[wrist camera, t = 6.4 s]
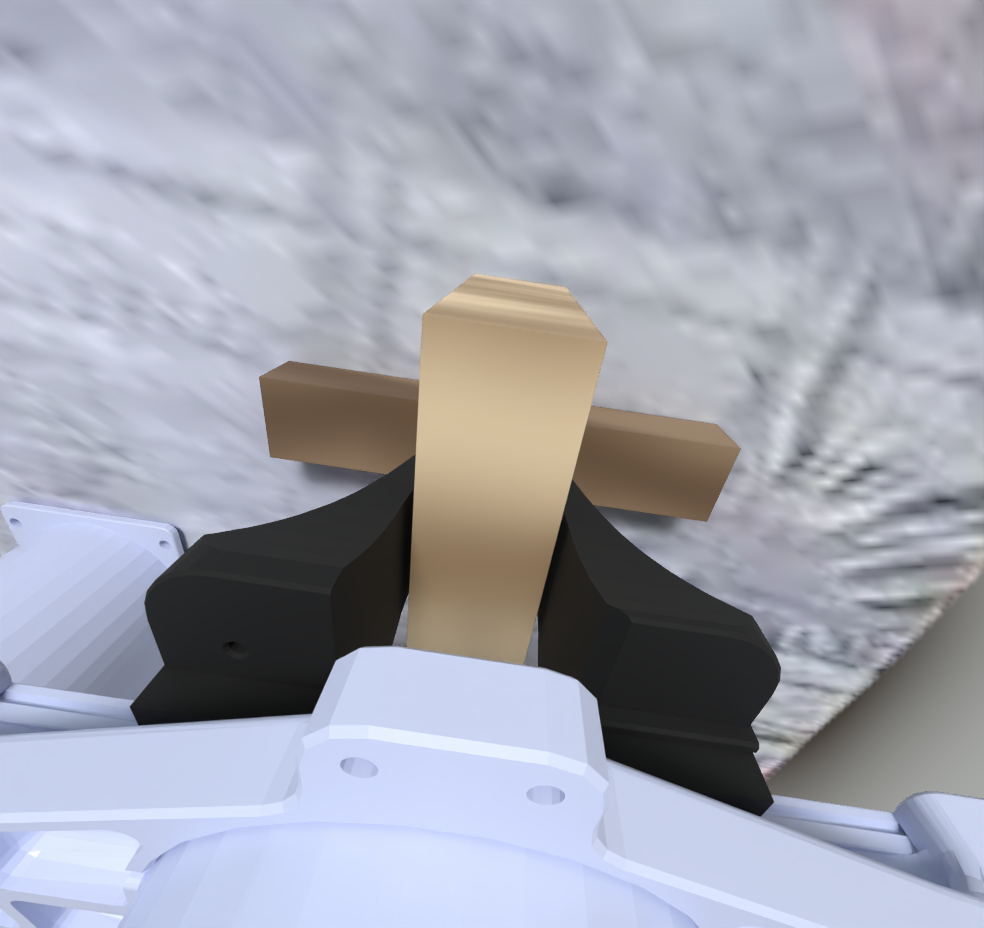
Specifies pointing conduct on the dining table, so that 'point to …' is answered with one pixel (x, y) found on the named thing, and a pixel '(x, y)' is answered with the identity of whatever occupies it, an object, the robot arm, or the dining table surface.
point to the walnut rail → (393, 434)
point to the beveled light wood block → (494, 459)
